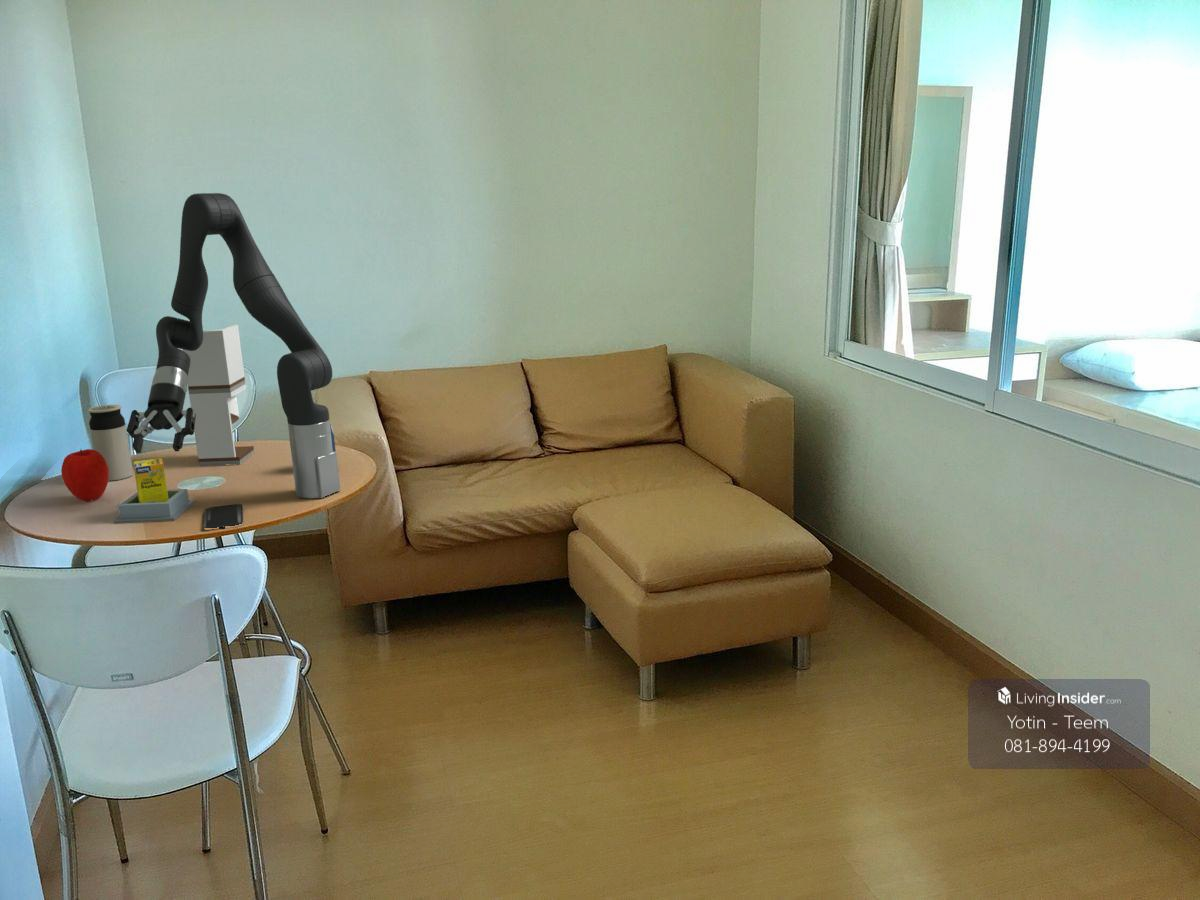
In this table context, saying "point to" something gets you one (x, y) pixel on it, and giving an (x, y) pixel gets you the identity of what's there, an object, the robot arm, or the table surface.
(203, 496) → the table surface
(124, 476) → the travel mug
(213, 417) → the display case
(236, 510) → the phone
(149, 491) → the supplement box
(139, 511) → the holder
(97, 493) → the apple
